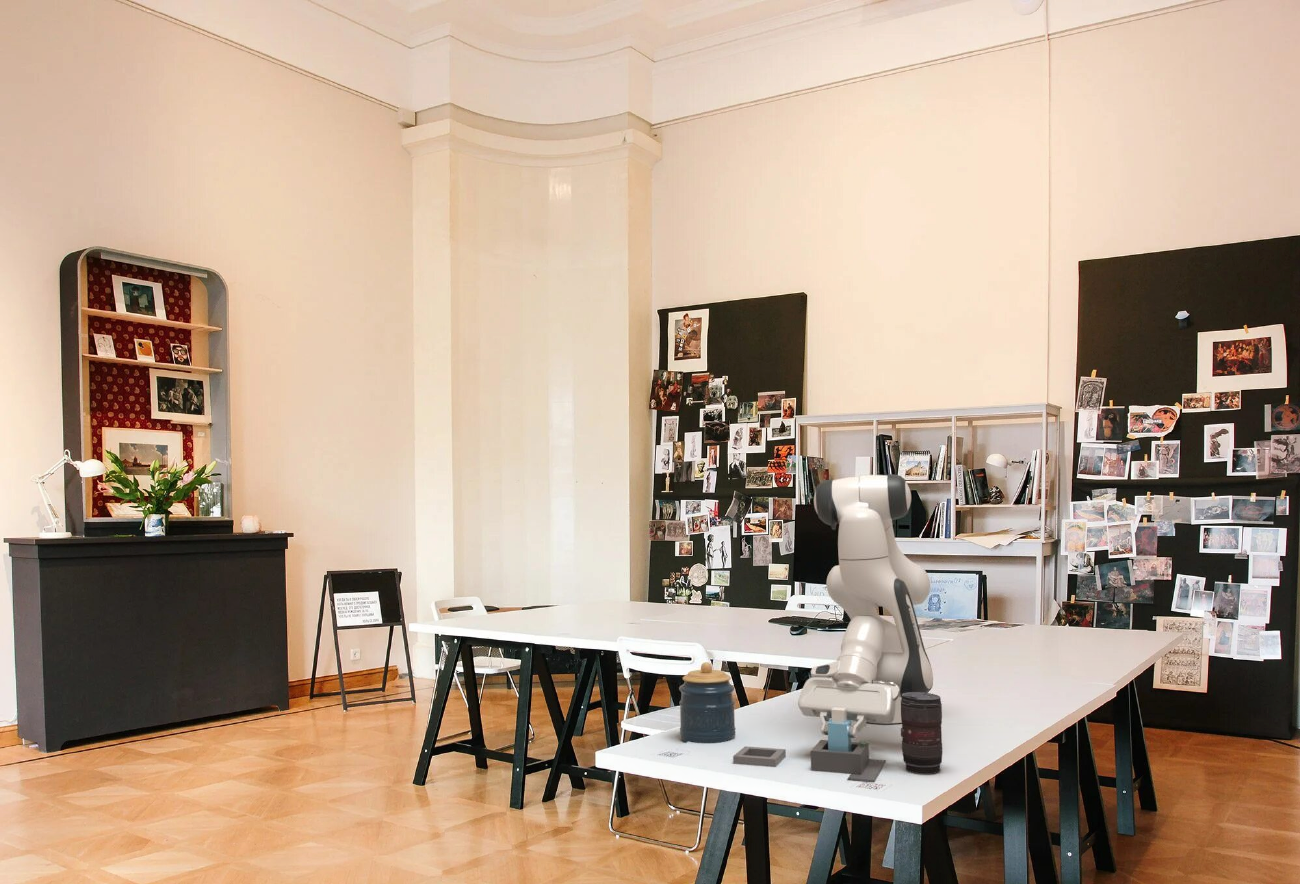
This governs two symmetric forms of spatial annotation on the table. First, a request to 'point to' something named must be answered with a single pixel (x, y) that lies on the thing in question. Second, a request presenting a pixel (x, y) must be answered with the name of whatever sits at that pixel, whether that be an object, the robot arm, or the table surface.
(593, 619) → the table surface
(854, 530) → the robot arm
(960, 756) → the table surface
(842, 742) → the plug
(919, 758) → the camera lens
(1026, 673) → the table surface
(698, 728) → the canister
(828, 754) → the port
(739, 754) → the grey square tray
